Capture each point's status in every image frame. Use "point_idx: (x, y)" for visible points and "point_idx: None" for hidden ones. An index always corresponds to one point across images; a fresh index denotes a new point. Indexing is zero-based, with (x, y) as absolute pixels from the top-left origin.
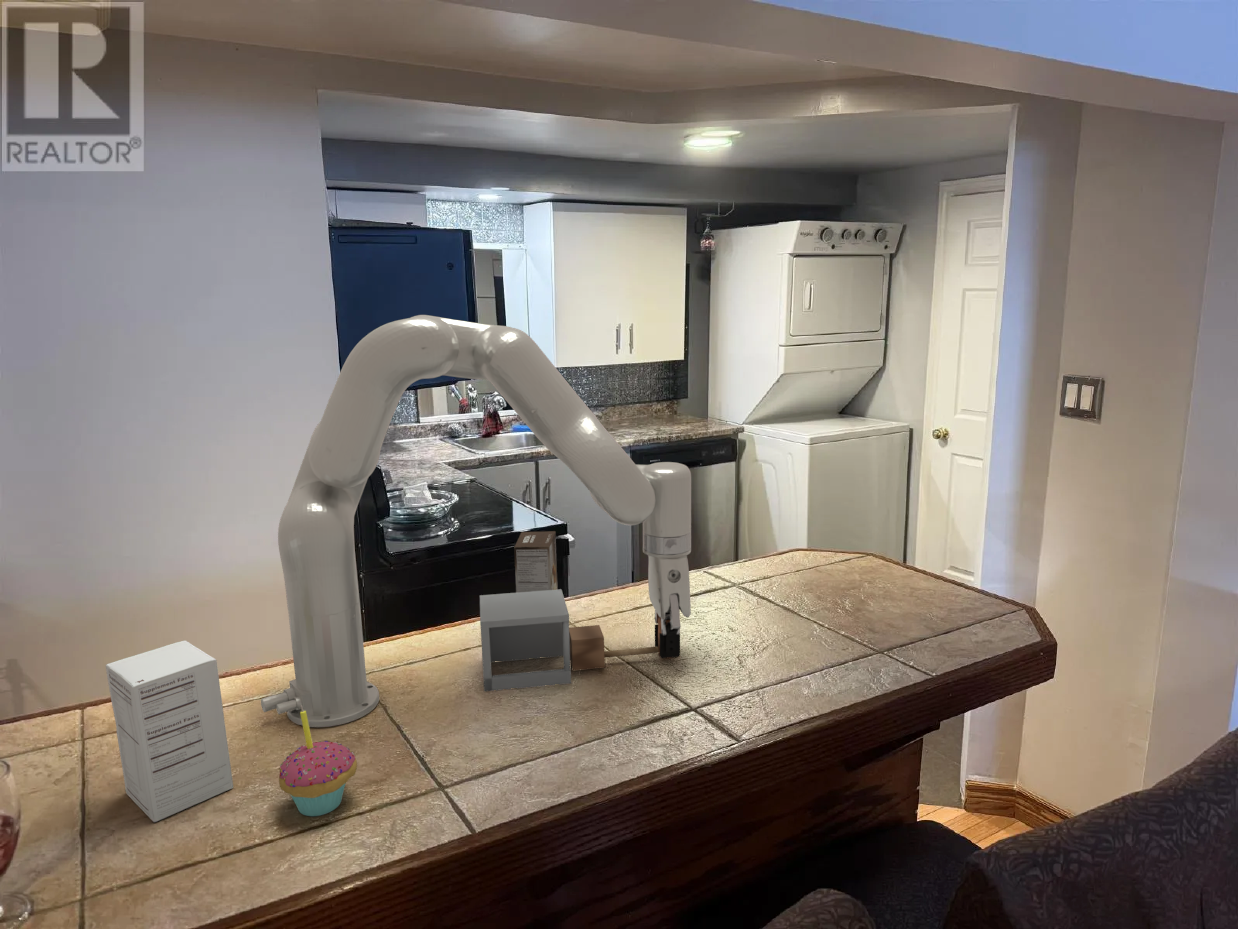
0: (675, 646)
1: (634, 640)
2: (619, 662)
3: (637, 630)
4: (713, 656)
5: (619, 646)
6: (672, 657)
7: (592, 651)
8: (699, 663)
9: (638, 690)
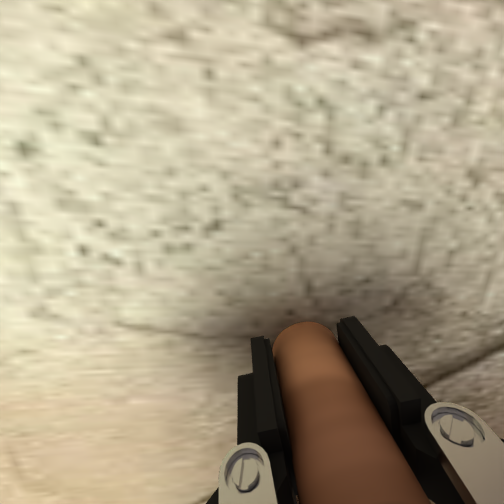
0: (401, 365)
1: (158, 434)
2: None
3: (70, 432)
4: (288, 167)
5: (208, 465)
6: (331, 332)
7: None
8: (350, 229)
9: (499, 403)
